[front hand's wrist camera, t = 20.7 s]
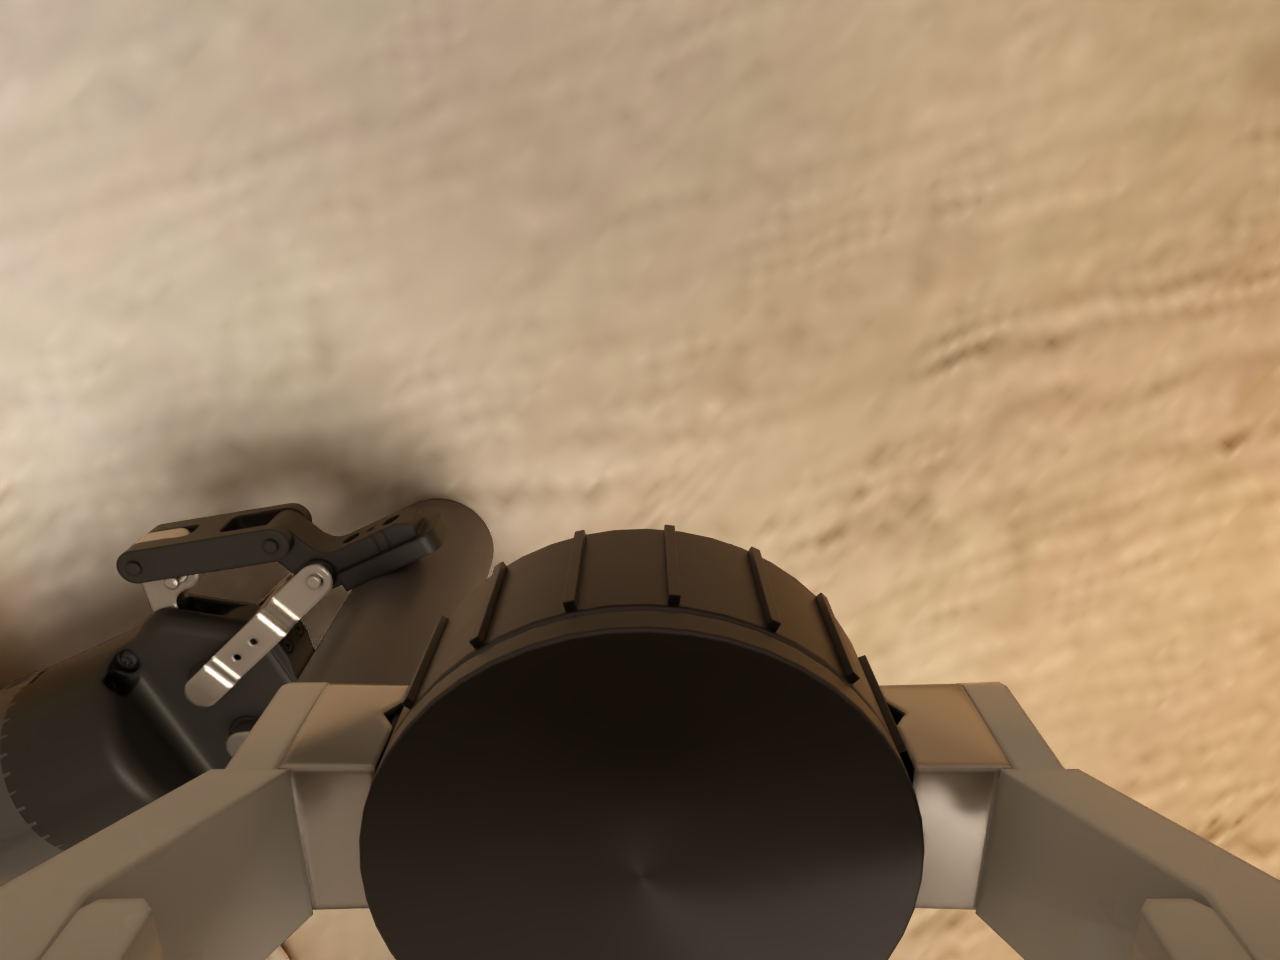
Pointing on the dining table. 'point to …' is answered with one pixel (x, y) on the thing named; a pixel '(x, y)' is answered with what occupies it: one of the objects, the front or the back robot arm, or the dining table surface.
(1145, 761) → the dining table surface
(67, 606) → the dining table surface
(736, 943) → the lid
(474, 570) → the brown cylindrical canister
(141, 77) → the dining table surface
